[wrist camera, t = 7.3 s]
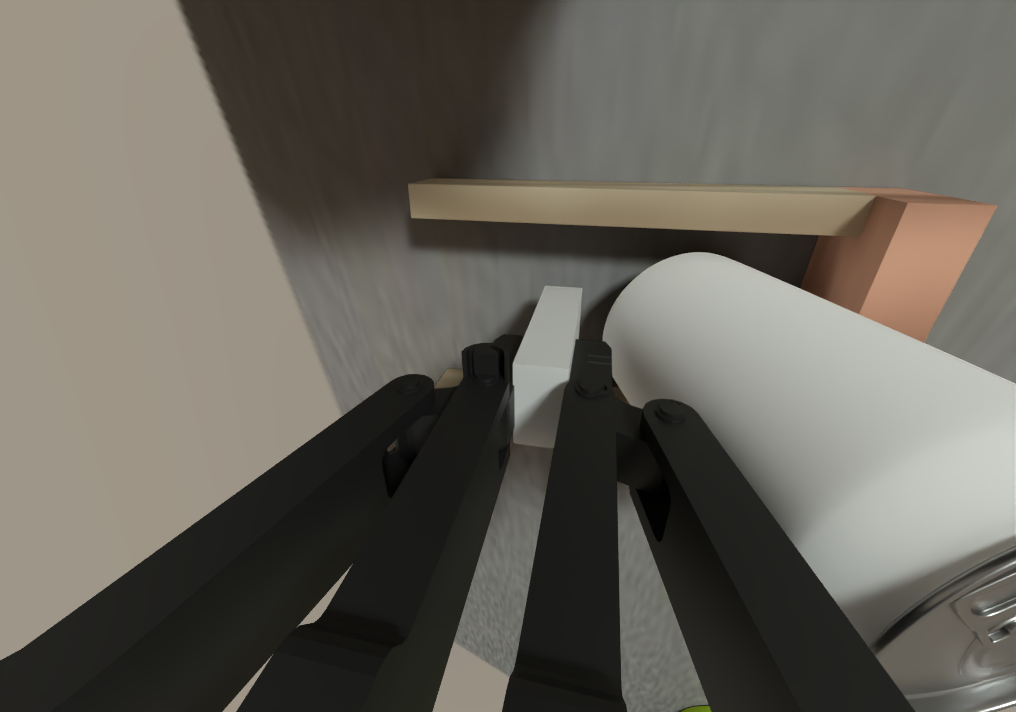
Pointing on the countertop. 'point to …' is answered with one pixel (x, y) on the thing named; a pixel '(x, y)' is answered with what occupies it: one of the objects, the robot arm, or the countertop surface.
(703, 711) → the soap dispenser
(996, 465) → the can
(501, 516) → the countertop surface
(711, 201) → the guide lane
